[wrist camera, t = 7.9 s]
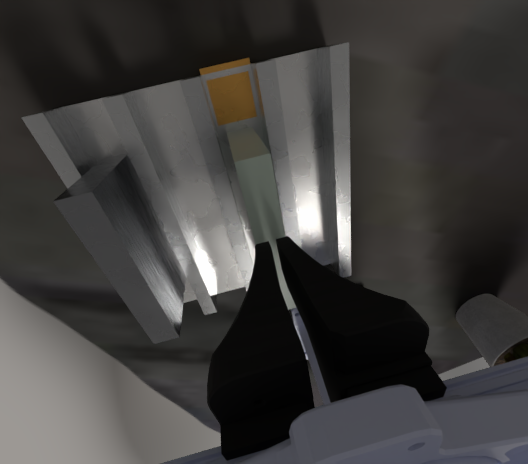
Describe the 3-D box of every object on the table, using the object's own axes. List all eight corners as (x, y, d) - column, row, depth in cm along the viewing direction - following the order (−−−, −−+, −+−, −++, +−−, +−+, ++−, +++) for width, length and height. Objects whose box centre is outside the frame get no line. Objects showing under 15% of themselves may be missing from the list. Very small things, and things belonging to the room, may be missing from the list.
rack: (336, 254, 24) (376, 313, 19) (164, 300, 24) (149, 376, 18) (326, 39, 16) (397, 24, 10) (49, 103, 15) (-55, 127, 9)
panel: (277, 251, 22) (297, 307, 17) (258, 256, 22) (273, 313, 17) (251, 126, 16) (270, 153, 11) (226, 132, 16) (233, 162, 11)
